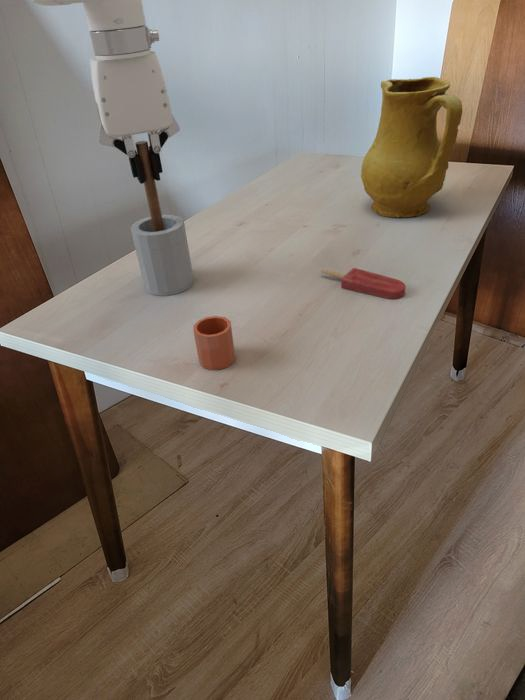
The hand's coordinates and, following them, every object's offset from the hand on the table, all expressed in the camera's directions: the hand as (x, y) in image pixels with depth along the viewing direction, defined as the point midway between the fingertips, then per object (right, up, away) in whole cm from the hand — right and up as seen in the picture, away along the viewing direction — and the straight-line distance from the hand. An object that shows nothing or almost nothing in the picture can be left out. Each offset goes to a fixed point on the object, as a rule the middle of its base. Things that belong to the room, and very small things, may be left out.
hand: (148, 178), depth 81 cm
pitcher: (+48, +3, +31) cm, 57 cm away
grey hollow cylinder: (+1, -15, +11) cm, 18 cm away
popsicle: (+34, -16, +5) cm, 38 cm away
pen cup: (+11, -28, -9) cm, 32 cm away
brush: (+1, -12, +8) cm, 15 cm away
